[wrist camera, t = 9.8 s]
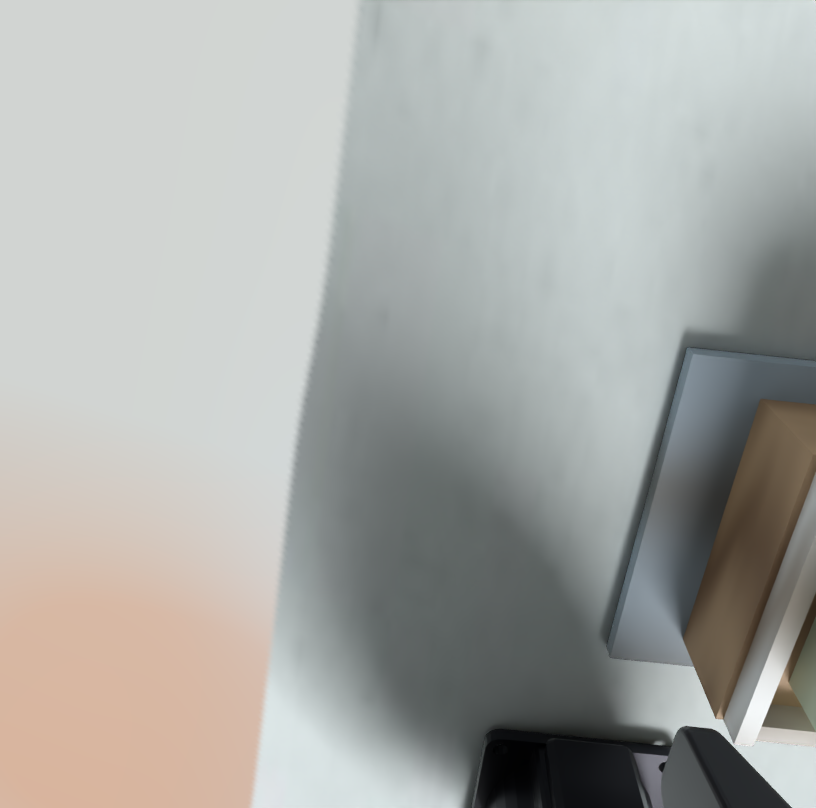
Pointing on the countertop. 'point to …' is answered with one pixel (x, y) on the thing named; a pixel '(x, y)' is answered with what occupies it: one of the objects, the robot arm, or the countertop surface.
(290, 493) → the countertop surface
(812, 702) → the sage block
